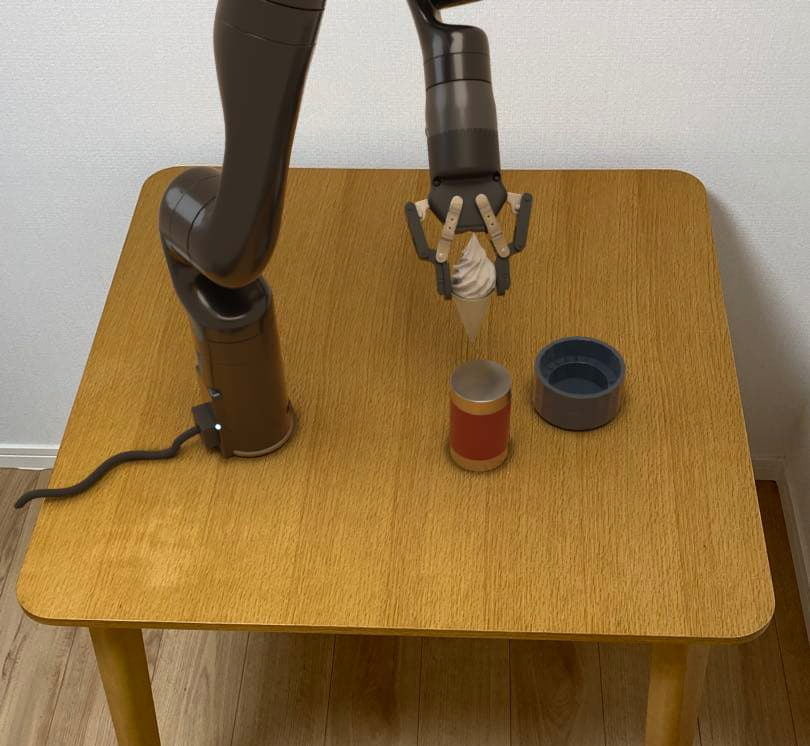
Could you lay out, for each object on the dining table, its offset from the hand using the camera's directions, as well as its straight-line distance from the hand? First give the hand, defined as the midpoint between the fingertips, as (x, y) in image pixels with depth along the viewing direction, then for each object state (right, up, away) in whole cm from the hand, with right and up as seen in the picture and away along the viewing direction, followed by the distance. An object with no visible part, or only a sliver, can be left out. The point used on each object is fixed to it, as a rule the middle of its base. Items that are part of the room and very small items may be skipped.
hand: (474, 296), depth 126 cm
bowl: (+13, -9, +14) cm, 21 cm away
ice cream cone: (0, -4, +8) cm, 8 cm away
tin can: (+1, -16, +10) cm, 18 cm away
